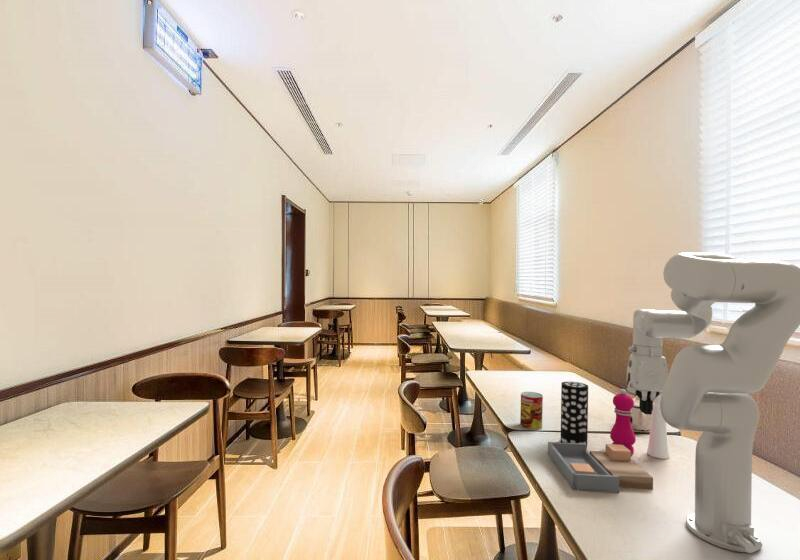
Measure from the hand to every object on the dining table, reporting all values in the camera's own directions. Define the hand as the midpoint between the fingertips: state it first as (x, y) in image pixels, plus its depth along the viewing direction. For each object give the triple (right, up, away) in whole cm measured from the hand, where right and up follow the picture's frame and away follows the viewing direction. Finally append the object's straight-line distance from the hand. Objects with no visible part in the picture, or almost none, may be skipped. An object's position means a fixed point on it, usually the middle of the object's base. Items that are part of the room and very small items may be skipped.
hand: (645, 412), depth 119 cm
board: (-11, -16, -5) cm, 20 cm away
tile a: (-23, -12, -8) cm, 27 cm away
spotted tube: (-14, -16, +16) cm, 27 cm away
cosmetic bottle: (+9, -17, +9) cm, 21 cm away
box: (-21, -16, -4) cm, 27 cm away
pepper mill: (-1, -16, +11) cm, 20 cm away
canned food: (-23, -16, +33) cm, 43 cm away
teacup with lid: (+18, -17, +33) cm, 41 cm away
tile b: (-8, -13, 0) cm, 15 cm away
